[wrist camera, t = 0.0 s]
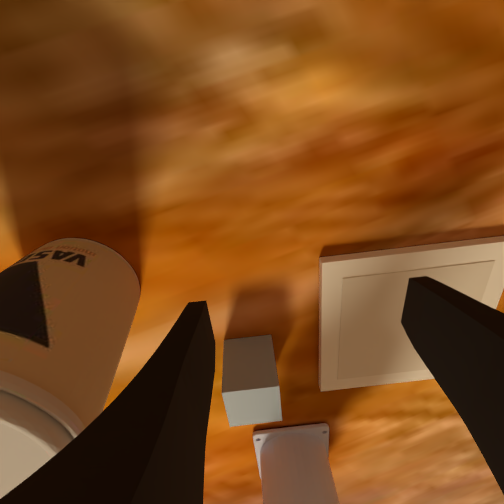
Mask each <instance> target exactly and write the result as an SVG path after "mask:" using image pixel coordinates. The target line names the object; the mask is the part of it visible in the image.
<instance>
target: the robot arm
mask: <svg viewBox="0 0 504 504" xmlns="http://www.w3.org/2000/svg"><path fill="white" fill-rule="evenodd" d="M401 324H402V326H403V328H404V330H405V332H406V334H407V336H408V338H409V340H410V342H411V344H412V345H413V347H414V349H415V350H416V352H417V353H418V355H419V356H420V358H421V359H422V361H423V362H424V364H425V365H426V367H427V368H428V370H429V371H430V372H431V374H432V375H433V377H434V378H435V380H436V381H437V382H438V384H439V385H440V387H441V388H442V390H443V391H444V393H445V394H446V395H447V397H448V398H449V400H450V401H451V403H452V404H453V405H454V407H455V408H456V410H457V412H458V413H459V415H460V416H461V418H462V419H463V421H464V423H465V424H466V426H467V428H468V430H469V431H470V433H471V435H472V437H473V439H474V440H475V442H476V444H477V446H478V447H479V449H480V451H481V453H482V454H483V456H484V458H485V460H486V462H487V464H488V466H489V468H490V470H491V471H492V473H493V475H494V477H495V479H496V481H497V483H498V485H499V486H500V488H501V490H502V492H503V494H504V313H502V312H500V311H498V310H496V309H494V308H491V307H489V306H487V305H485V304H483V303H481V302H479V301H477V300H475V299H473V298H471V297H469V296H467V295H465V294H463V293H461V292H459V291H457V290H455V289H453V288H451V287H449V286H447V285H445V284H443V283H441V282H439V281H437V280H435V279H432V278H430V277H428V276H422V277H413V278H409V281H408V286H407V292H406V297H405V302H404V307H403V313H402V318H401ZM214 373H215V339H214V334H213V330H212V325H211V321H210V316H209V312H208V307H207V303H206V301H198V302H189V303H188V304H187V305H186V307H185V309H184V310H183V312H182V313H181V315H180V316H179V318H178V320H177V321H176V323H175V324H174V326H173V327H172V329H171V330H170V332H169V333H168V334H167V336H166V337H165V339H164V340H163V341H162V343H161V344H160V346H159V347H158V348H157V350H156V351H155V353H154V354H153V355H152V356H151V358H150V359H149V360H148V361H147V363H146V364H145V365H144V367H143V368H142V369H141V370H140V372H139V373H138V374H137V375H136V376H135V377H134V379H133V380H132V381H131V382H130V383H129V384H128V386H127V387H126V388H125V389H124V390H123V391H122V392H121V393H120V394H119V395H118V397H117V398H116V399H115V400H114V401H113V402H112V403H111V404H110V405H109V406H108V407H107V408H106V409H105V410H104V411H103V412H102V413H101V414H100V415H99V416H98V417H97V418H96V419H95V420H93V421H92V422H91V423H90V424H89V425H88V426H87V427H86V428H85V429H84V430H83V431H82V432H81V433H80V434H79V435H78V436H77V437H75V438H74V439H73V440H72V441H71V442H70V443H69V444H67V445H66V446H65V447H64V448H63V449H62V450H61V451H59V452H58V453H57V454H56V455H55V456H53V457H52V458H51V459H50V460H49V461H48V462H46V463H45V464H44V465H43V466H42V467H40V468H39V469H38V470H37V471H35V472H34V473H33V474H32V475H31V476H29V477H28V478H27V479H25V480H24V481H23V482H22V483H20V484H19V485H18V486H16V487H15V488H14V489H12V490H11V491H10V492H9V493H7V494H6V495H5V496H3V497H2V498H1V499H0V504H203V487H204V463H205V445H206V435H207V427H208V419H209V412H210V404H211V397H212V389H213V381H214ZM253 441H254V446H255V452H256V457H257V462H258V468H259V473H260V478H261V480H262V495H263V504H339V500H338V496H337V492H336V488H335V484H334V480H333V476H332V472H331V468H330V464H329V460H328V449H329V426H328V424H326V423H321V424H312V425H303V426H294V427H286V428H277V429H268V430H259V431H255V432H253Z"/></svg>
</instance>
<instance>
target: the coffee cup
mask: <svg viewBox="0 0 504 504" xmlns="http://www.w3.org/2000/svg"><path fill="white" fill-rule="evenodd" d="M139 298H140V285H139V281H138V278H137V275H136V273H135V271H134V270H133V268H132V267H131V265H130V264H129V263H128V262H127V261H126V260H125V259H124V258H123V257H122V256H121V255H120V254H118V253H117V252H116V251H114V250H113V249H111V248H109V247H107V246H106V245H103V244H101V243H98V242H95V241H92V240H88V239H81V238H64V239H59V240H55V241H52V242H49V243H47V244H45V245H43V246H41V247H40V248H38V249H36V250H35V251H33V252H31V253H30V254H28V255H27V256H25V257H24V258H22V259H21V260H19V261H18V262H16V263H14V264H13V265H11V266H10V267H8V268H7V269H5V270H4V271H2V272H1V273H0V499H1V498H2V497H3V496H5V495H6V494H7V493H9V492H10V491H11V490H12V489H14V488H15V487H16V486H18V485H19V484H20V483H22V482H23V481H24V480H25V479H27V478H28V477H29V476H31V475H32V474H33V473H34V472H35V471H37V470H38V469H39V468H40V467H42V466H43V465H44V464H45V463H46V462H48V461H49V460H50V459H51V458H52V457H53V456H55V455H56V454H57V453H58V452H59V451H61V450H62V449H63V448H64V447H65V446H66V445H67V444H69V443H70V442H71V441H72V440H73V439H74V438H75V437H77V436H78V435H79V434H80V433H81V432H82V431H83V430H84V429H85V428H86V427H87V426H88V425H89V424H90V423H91V422H92V421H93V420H95V419H96V418H97V417H98V416H99V415H100V414H101V413H102V411H103V408H104V405H105V402H106V400H107V397H108V394H109V391H110V388H111V385H112V382H113V379H114V376H115V373H116V370H117V367H118V364H119V361H120V358H121V355H122V352H123V349H124V346H125V343H126V340H127V337H128V334H129V331H130V328H131V325H132V322H133V319H134V316H135V313H136V310H137V306H138V303H139Z"/></svg>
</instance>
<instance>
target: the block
mask: <svg viewBox="0 0 504 504" xmlns="http://www.w3.org/2000/svg"><path fill="white" fill-rule="evenodd" d="M222 396H223V400H224V404H225V408H226V412H227V417H228V421H229V425H230V427H231V426H240V425H249V424H257V423H266V422H275V421H282V412H281V401H280V390H279V382H278V375H277V369H276V362H275V356H274V349H273V342H272V336H271V335H262V336H254V337H245V338H237V339H228V340H224V352H223V376H222Z"/></svg>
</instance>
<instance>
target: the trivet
mask: <svg viewBox="0 0 504 504" xmlns="http://www.w3.org/2000/svg"><path fill="white" fill-rule="evenodd" d="M422 276H428V277H430V278H432V279H435V280H437V281H439V282H441V283H443V284H445V285H447V286H449V287H451V288H453V289H455V290H457V291H459V292H461V293H463V294H465V295H467V296H469V297H471V298H473V299H475V300H477V301H479V302H481V303H483V304H485V305H487V306H489V307H491V308H494V309H496V307H497V305H498V302H499V299H500V297H501V294H502V291H503V289H504V236H497V237H488V238H480V239H471V240H463V241H454V242H446V243H437V244H429V245H420V246H412V247H403V248H395V249H386V250H378V251H369V252H361V253H352V254H344V255H335V256H327V257H319V387H320V391H321V392H322V391H330V390H339V389H348V388H357V387H365V386H374V385H383V384H391V383H400V382H409V381H418V380H426V379H435V378H434V377H433V375H432V374H431V372H430V371H429V370H428V368H427V367H426V365H425V364H424V362H423V361H422V359H421V358H420V356H419V355H418V353H417V352H416V350H415V349H414V347H413V345H412V344H411V342H410V340H409V338H408V336H407V334H406V332H405V330H404V328H403V326H402V324H401V318H402V313H403V307H404V302H405V297H406V292H407V286H408V281H409V278H413V277H422Z"/></svg>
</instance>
